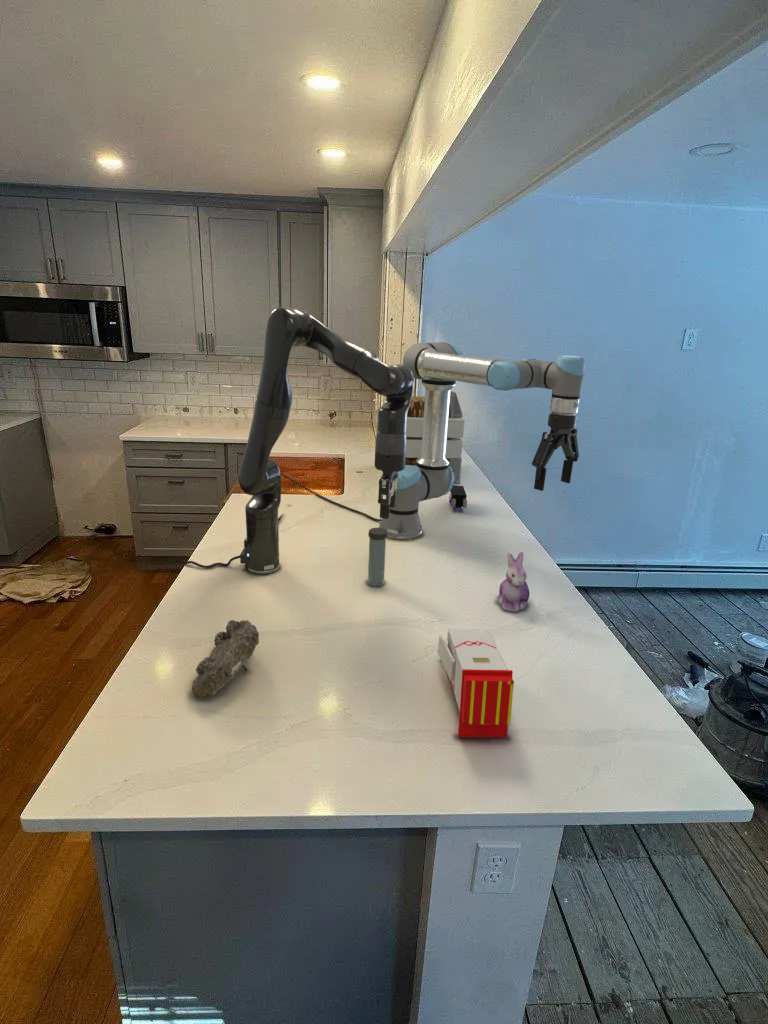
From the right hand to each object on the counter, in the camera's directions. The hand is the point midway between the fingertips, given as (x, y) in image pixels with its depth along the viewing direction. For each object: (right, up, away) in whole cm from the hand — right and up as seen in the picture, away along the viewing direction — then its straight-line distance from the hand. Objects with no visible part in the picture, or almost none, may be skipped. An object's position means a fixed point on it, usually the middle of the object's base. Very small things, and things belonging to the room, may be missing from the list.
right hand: (552, 485), depth 166 cm
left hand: (-48, -8, -23) cm, 54 cm away
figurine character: (-20, -6, +64) cm, 67 cm away
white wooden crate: (-32, +11, +109) cm, 115 cm away
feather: (-87, -10, +44) cm, 98 cm away
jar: (-52, -28, -2) cm, 59 cm away
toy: (-31, -45, -47) cm, 72 cm away
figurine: (-14, -33, -11) cm, 37 cm away
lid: (-51, -13, -7) cm, 53 cm away
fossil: (-82, -42, -43) cm, 102 cm away
